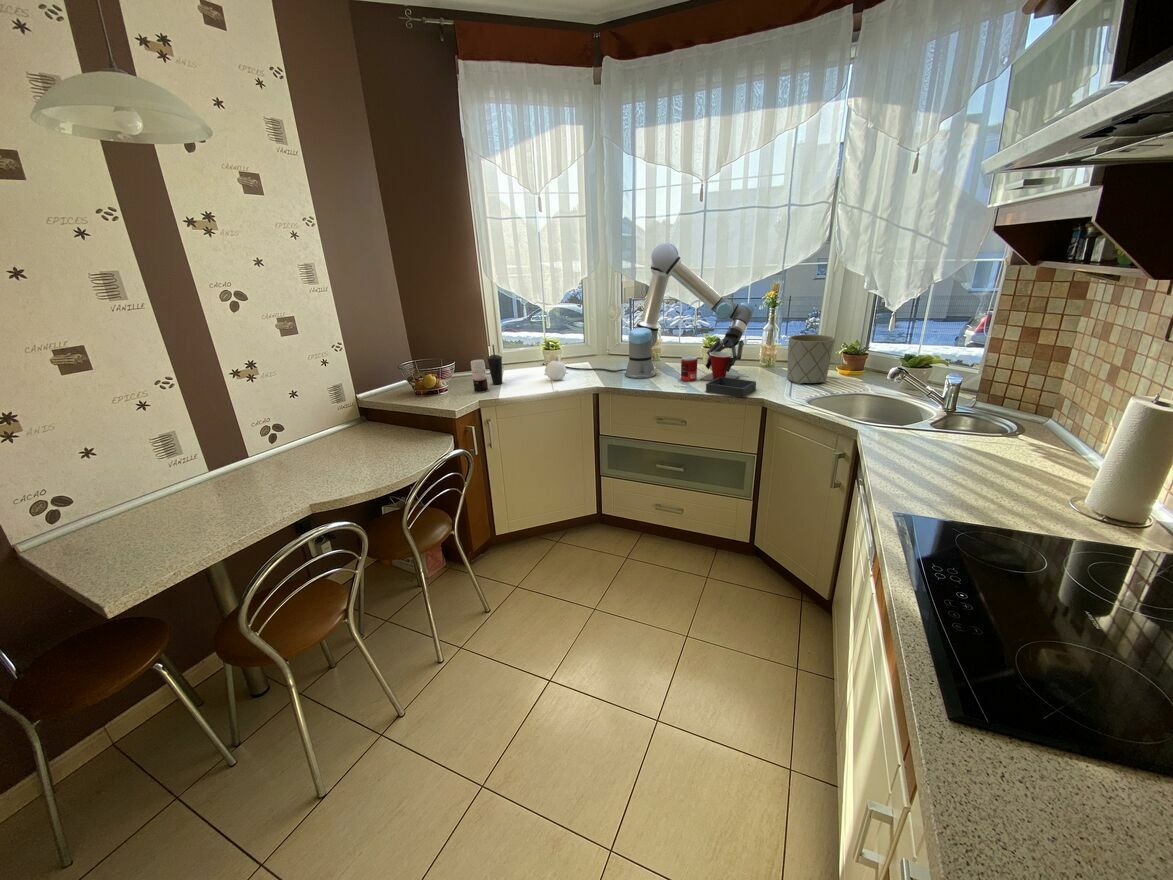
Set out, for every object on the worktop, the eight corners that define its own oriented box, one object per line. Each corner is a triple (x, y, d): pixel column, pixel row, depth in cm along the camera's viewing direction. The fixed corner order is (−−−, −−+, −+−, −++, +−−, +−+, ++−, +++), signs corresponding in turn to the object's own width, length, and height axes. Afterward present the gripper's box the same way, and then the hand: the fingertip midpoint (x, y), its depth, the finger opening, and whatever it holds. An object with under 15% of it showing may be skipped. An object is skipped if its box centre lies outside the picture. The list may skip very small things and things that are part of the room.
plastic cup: (731, 380, 229) (733, 355, 224) (708, 380, 231) (709, 355, 226) (730, 374, 238) (731, 350, 234) (707, 374, 241) (708, 351, 236)
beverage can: (482, 388, 238) (478, 358, 233) (490, 390, 234) (487, 360, 229) (471, 391, 234) (467, 361, 228) (480, 393, 230) (476, 362, 224)
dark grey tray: (705, 392, 214) (706, 383, 212) (719, 385, 224) (720, 376, 222) (742, 397, 203) (743, 388, 202) (755, 390, 213) (756, 381, 212)
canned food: (698, 378, 238) (699, 356, 234) (694, 382, 231) (695, 359, 227) (683, 377, 241) (683, 355, 237) (679, 381, 234) (679, 358, 230)
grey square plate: (699, 379, 234) (699, 378, 234) (712, 373, 244) (712, 372, 244) (726, 383, 226) (726, 382, 225) (739, 377, 235) (739, 376, 235)
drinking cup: (507, 381, 248) (503, 343, 241) (500, 385, 241) (495, 346, 234) (494, 381, 251) (490, 343, 243) (487, 385, 244) (482, 345, 237)
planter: (817, 374, 232) (823, 333, 225) (836, 385, 215) (842, 340, 207) (778, 376, 233) (782, 335, 226) (793, 386, 215) (798, 342, 208)
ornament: (570, 379, 248) (569, 356, 243) (556, 383, 241) (554, 360, 236) (557, 376, 254) (555, 354, 250) (542, 380, 247) (541, 357, 243)
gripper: (759, 337, 230) (740, 376, 226) (717, 334, 246) (699, 370, 241) (754, 328, 225) (736, 367, 221) (712, 325, 240) (694, 361, 236)
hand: (717, 368), depth 231 cm, fingers closed on plastic cup, 10 cm apart
